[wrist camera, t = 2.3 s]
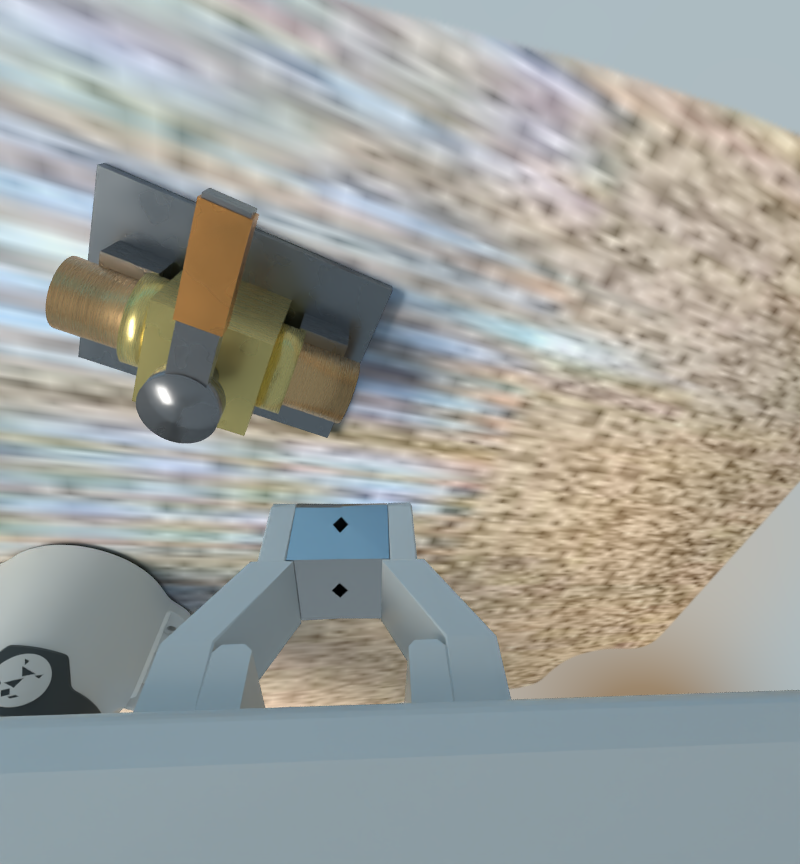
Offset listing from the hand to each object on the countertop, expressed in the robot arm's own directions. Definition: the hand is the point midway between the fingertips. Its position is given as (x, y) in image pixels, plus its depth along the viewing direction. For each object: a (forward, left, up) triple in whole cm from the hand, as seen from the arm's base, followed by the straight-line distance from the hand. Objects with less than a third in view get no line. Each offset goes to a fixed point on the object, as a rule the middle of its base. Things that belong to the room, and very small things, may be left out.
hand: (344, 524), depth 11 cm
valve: (-7, +6, -23) cm, 25 cm away
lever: (-3, +6, -13) cm, 15 cm away
